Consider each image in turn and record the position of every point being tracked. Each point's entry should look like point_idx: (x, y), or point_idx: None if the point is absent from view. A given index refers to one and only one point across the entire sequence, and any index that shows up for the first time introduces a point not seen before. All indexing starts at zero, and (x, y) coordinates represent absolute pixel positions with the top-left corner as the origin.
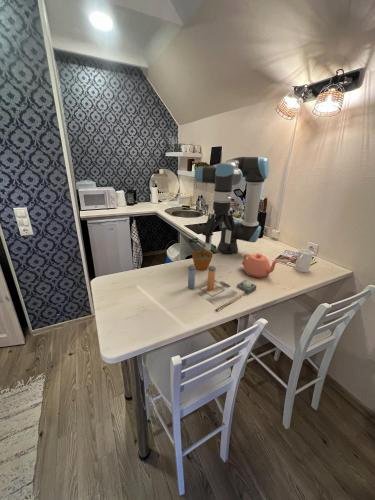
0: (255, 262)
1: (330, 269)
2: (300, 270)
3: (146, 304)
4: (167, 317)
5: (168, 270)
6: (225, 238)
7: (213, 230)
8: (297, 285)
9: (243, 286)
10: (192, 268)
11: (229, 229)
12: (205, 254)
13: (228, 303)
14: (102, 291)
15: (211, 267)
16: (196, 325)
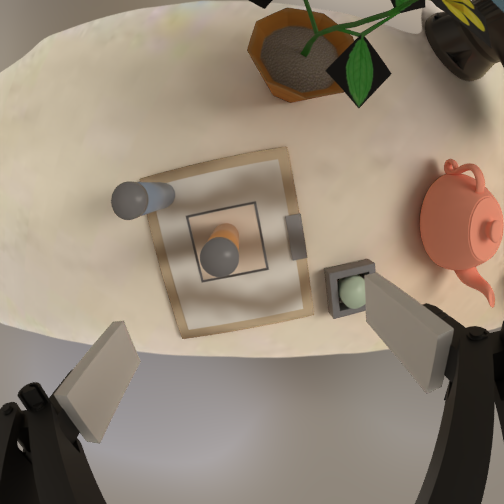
0: (460, 244)
1: None
2: None
3: (33, 215)
4: (62, 289)
5: (162, 41)
6: (381, 294)
7: (96, 491)
8: None
9: (336, 294)
10: (123, 217)
11: (453, 370)
12: (336, 43)
13: (231, 330)
14: None
15: (219, 253)
16: None
